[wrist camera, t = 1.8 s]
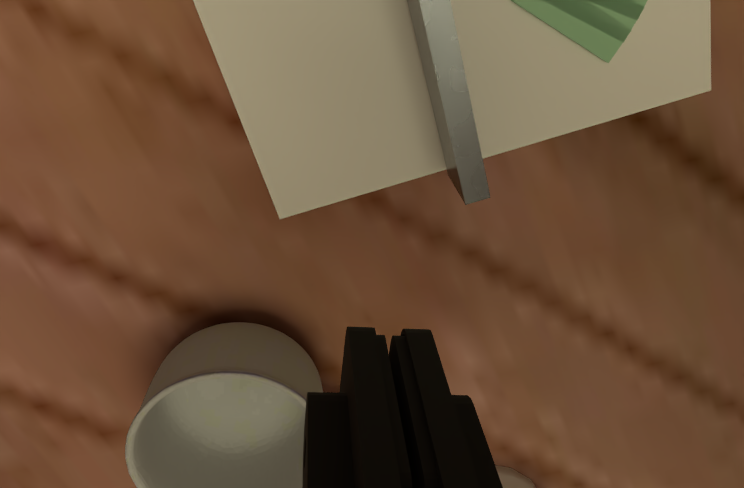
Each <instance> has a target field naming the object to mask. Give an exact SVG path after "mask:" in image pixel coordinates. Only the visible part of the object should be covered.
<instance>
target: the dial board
mask: <svg viewBox="0 0 744 488" xmlns="http://www.w3.org/2000/svg"><path fill="white" fill-rule="evenodd" d="M193 2H194V4H195V7H196V9H197V12H198V14H199V17H200V19H201V22H202V24H203V27H204V29H205V32H206V34H207V37H208V39H209V42H210V44H211V47H212V49H213V52H214V55H215V57H216V60H217V62H218V65H219V67H220V70H221V72H222V75H223V77H224V80H225V82H226V85H227V87H228V90H229V92H230V95H231V97H232V100H233V102H234V105H235V107H236V110H237V112H238V115H239V118H240V120H241V123H242V125H243V128H244V130H245V133H246V135H247V138H248V140H249V143H250V145H251V148H252V150H253V153H254V155H255V158H256V160H257V163H258V165H259V168H260V170H261V173H262V176H263V178H264V181H265V183H266V186H267V188H268V191H269V193H270V196H271V198H272V201H273V203H274V206H275V208H276V211H277V213H278V216H279V218H280V219H282V218H286V217H289V216H292V215H296V214H299V213H302V212H306V211H309V210H312V209H316V208H319V207H322V206H326V205H329V204H333V203H336V202H339V201H343V200H346V199H349V198H353V197H356V196H359V195H363V194H366V193H369V192H373V191H376V190H379V189H383V188H386V187H389V186H393V185H396V184H399V183H403V182H406V181H409V180H413V179H416V178H420V177H423V176H426V175H430V174H433V173H436V172H440V171H443V170H446V169H447V168H446V164H445V160H444V155H443V151H442V147H441V143H440V138H439V134H438V130H437V126H436V121H435V117H434V113H433V109H432V104H431V100H430V96H429V92H428V88H427V83H426V79H425V75H424V71H423V66H422V62H421V58H420V54H419V49H418V45H417V41H416V37H415V32H414V28H413V24H412V20H411V16H410V11H409V7H408V3H407V0H193ZM450 2H451V7H452V12H453V17H454V21H455V26H456V31H457V36H458V41H459V46H460V51H461V56H462V61H463V66H464V71H465V75H466V80H467V85H468V90H469V95H470V100H471V105H472V110H473V115H474V120H475V125H476V129H477V134H478V139H479V144H480V149H481V154H482V159H483V158H486V157H490V156H493V155H496V154H500V153H503V152H507V151H510V150H513V149H517V148H520V147H523V146H527V145H530V144H533V143H537V142H540V141H543V140H547V139H550V138H553V137H557V136H560V135H563V134H567V133H570V132H573V131H577V130H580V129H584V128H587V127H590V126H594V125H597V124H600V123H604V122H607V121H610V120H614V119H617V118H620V117H624V116H627V115H630V114H634V113H637V112H640V111H644V110H647V109H650V108H654V107H657V106H660V105H664V104H667V103H671V102H674V101H677V100H681V99H684V98H687V97H691V96H694V95H697V94H701V93H704V92H707V91H711V18H710V0H450Z"/></svg>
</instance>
